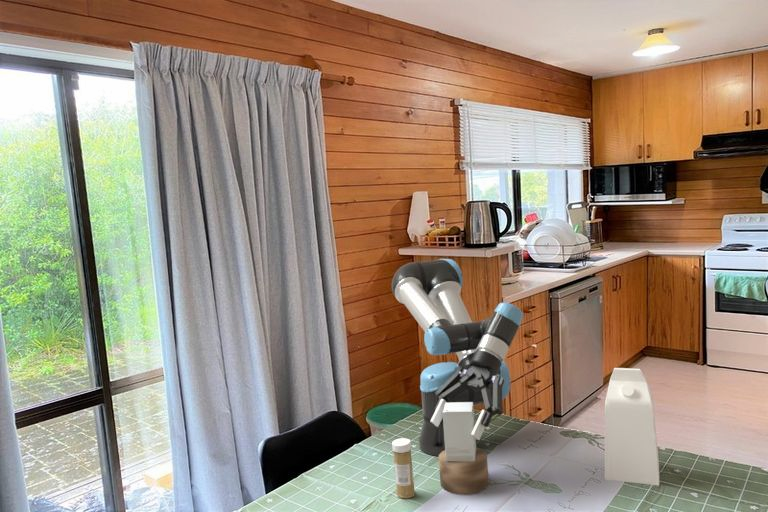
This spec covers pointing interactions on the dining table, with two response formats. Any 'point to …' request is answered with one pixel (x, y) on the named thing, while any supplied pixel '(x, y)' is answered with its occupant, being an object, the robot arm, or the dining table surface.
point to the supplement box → (459, 432)
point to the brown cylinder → (464, 474)
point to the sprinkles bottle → (403, 468)
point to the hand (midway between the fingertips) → (453, 430)
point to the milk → (630, 429)
